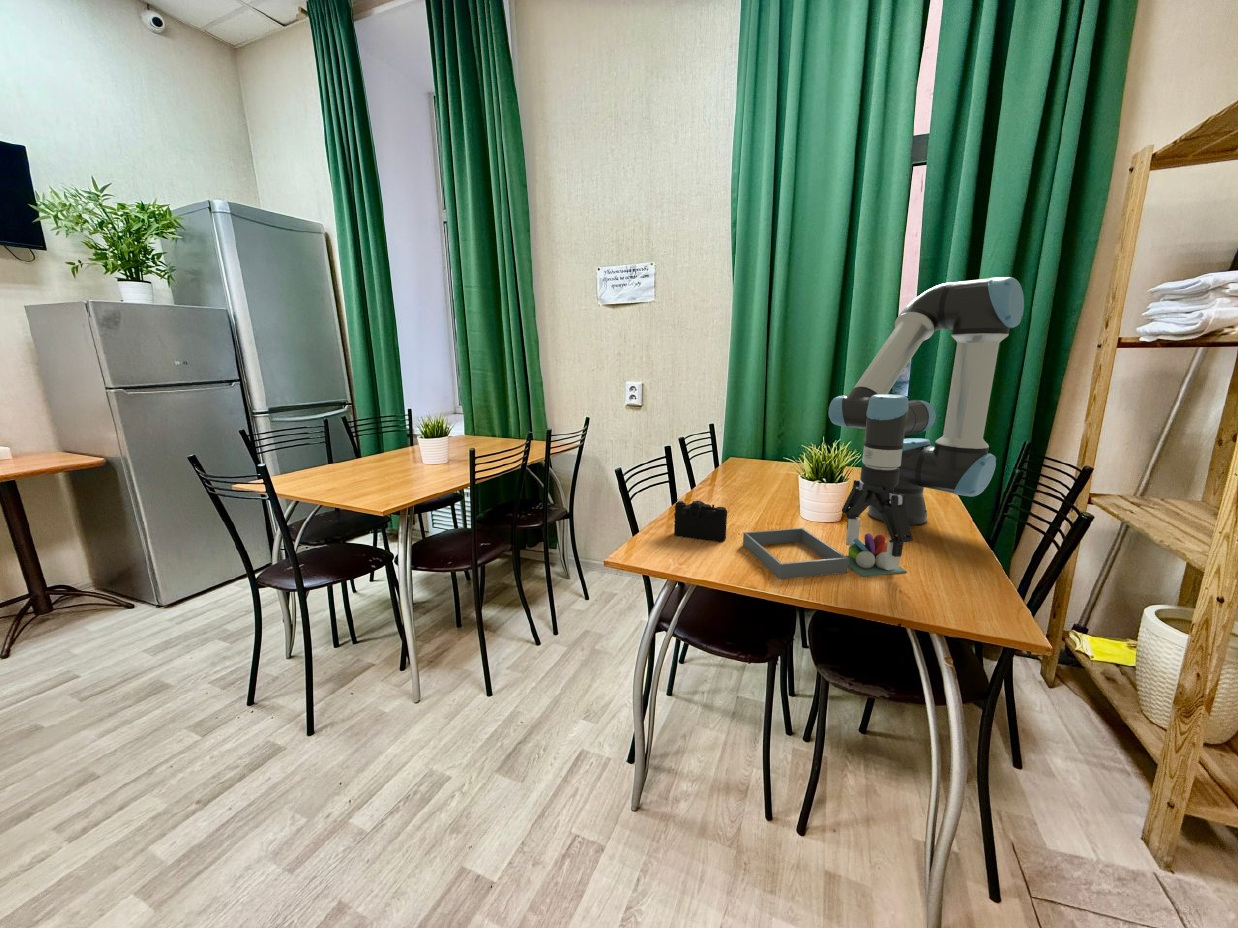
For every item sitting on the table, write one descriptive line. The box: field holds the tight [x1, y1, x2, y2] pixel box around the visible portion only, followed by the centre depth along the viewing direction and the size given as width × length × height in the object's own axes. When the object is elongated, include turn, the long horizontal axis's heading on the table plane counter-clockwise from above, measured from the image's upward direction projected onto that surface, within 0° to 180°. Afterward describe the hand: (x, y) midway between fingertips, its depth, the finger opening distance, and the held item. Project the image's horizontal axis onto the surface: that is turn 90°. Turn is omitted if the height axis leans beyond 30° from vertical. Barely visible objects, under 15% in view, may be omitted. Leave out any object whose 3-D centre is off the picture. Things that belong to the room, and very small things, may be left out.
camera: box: [673, 500, 728, 543], centre depth 132 cm, size 14×11×10 cm
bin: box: [742, 527, 849, 580], centre depth 116 cm, size 16×19×4 cm
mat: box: [845, 554, 907, 578], centre depth 112 cm, size 11×10×1 cm
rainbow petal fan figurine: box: [848, 532, 888, 570], centre depth 111 cm, size 8×10×7 cm
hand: (870, 556), depth 112 cm, fingers open, 13 cm apart
